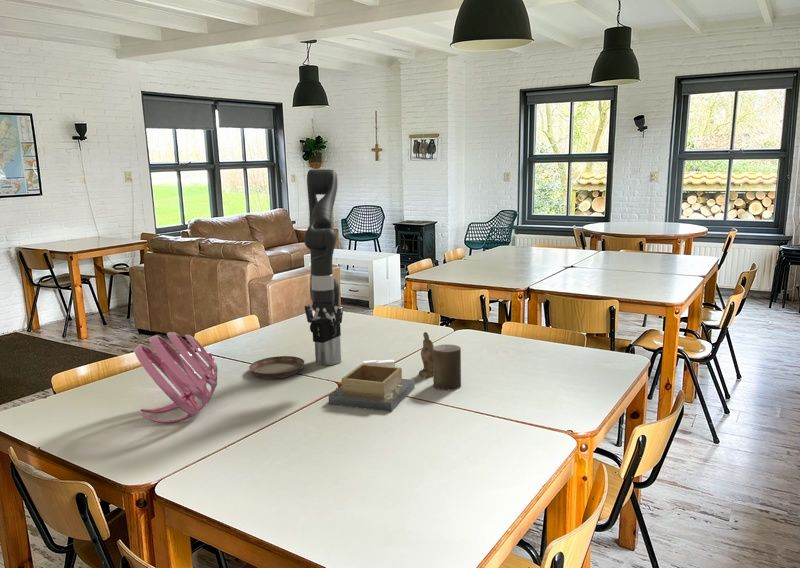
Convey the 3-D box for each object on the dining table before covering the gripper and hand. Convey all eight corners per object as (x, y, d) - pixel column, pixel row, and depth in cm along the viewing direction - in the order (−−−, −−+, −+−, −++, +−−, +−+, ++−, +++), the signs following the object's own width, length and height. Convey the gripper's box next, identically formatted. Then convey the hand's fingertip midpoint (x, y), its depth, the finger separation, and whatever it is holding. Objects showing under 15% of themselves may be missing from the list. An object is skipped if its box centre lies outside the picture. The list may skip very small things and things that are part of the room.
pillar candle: (459, 391, 215) (459, 348, 212) (431, 389, 217) (430, 347, 214) (462, 381, 225) (462, 340, 222) (435, 380, 226) (435, 339, 224)
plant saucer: (239, 379, 233) (239, 371, 232) (264, 362, 253) (263, 354, 252) (291, 382, 228) (291, 374, 227) (312, 365, 248) (312, 356, 247)
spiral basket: (94, 376, 179) (172, 314, 186) (112, 369, 206) (180, 315, 213) (160, 449, 183) (235, 385, 189) (169, 433, 210) (235, 378, 216)
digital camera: (328, 333, 223) (327, 314, 222) (340, 335, 220) (340, 316, 219) (310, 341, 214) (308, 321, 213) (322, 343, 212) (321, 323, 210)
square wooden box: (328, 404, 206) (327, 380, 205) (356, 381, 227) (355, 360, 225) (391, 411, 199) (390, 387, 197) (414, 388, 219) (414, 366, 217)
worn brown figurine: (427, 383, 230) (419, 339, 224) (417, 380, 234) (409, 336, 228) (449, 370, 237) (442, 326, 231) (439, 366, 241) (432, 323, 235)
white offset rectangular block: (403, 372, 237) (402, 358, 236) (387, 382, 227) (387, 367, 226) (369, 367, 244) (368, 353, 243) (352, 376, 234) (352, 361, 233)
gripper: (298, 288, 213) (301, 336, 216) (337, 290, 208) (339, 340, 211) (309, 284, 220) (311, 331, 223) (346, 286, 215) (348, 334, 218)
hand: (325, 335), depth 217 cm, fingers closed on digital camera, 5 cm apart
